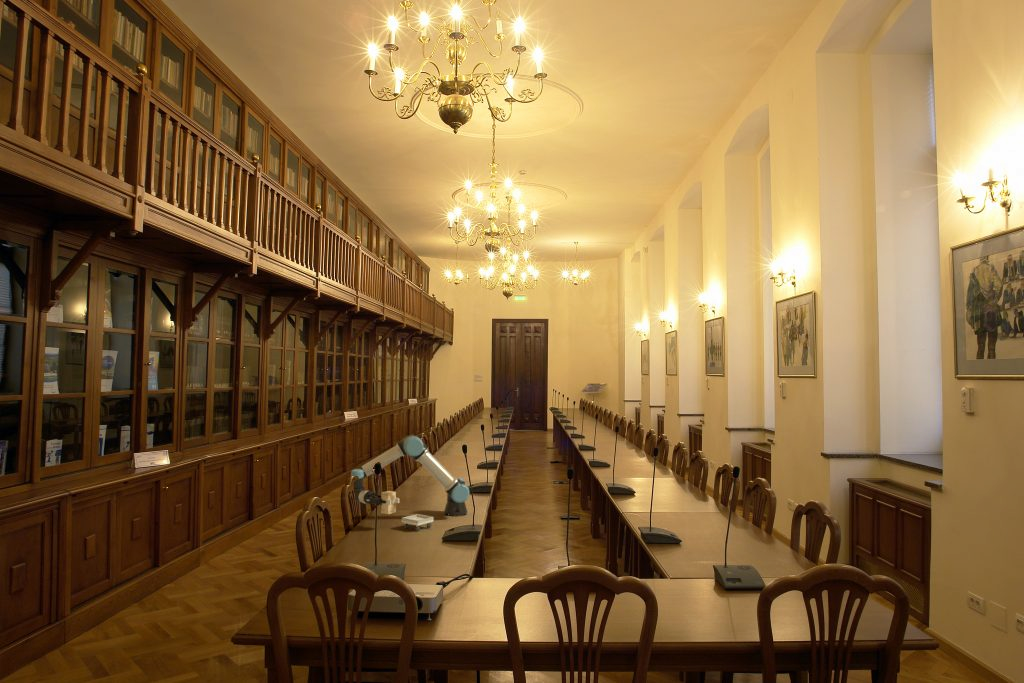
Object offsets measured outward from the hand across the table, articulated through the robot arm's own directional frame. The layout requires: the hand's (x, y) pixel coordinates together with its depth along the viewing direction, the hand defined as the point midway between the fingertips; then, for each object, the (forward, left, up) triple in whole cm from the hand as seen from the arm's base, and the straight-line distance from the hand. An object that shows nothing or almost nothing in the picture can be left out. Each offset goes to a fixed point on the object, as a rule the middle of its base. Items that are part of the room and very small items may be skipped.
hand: (394, 501), depth 390 cm
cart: (-12, +7, -17) cm, 22 cm away
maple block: (0, -5, -7) cm, 9 cm away
